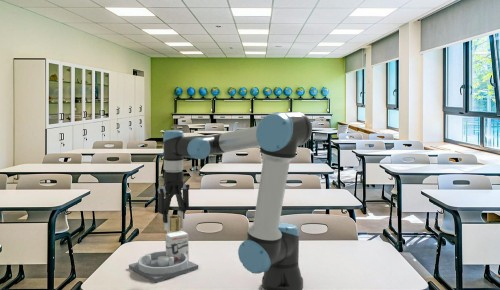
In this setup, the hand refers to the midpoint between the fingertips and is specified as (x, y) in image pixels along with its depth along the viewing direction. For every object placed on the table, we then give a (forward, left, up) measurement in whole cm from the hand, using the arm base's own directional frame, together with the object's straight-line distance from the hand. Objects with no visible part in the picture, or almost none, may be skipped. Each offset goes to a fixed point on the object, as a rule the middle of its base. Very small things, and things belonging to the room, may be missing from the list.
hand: (173, 228), depth 181 cm
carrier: (+7, +1, -18) cm, 19 cm away
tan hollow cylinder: (0, 0, 0) cm, 0 cm away
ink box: (+10, -8, -18) cm, 22 cm away
